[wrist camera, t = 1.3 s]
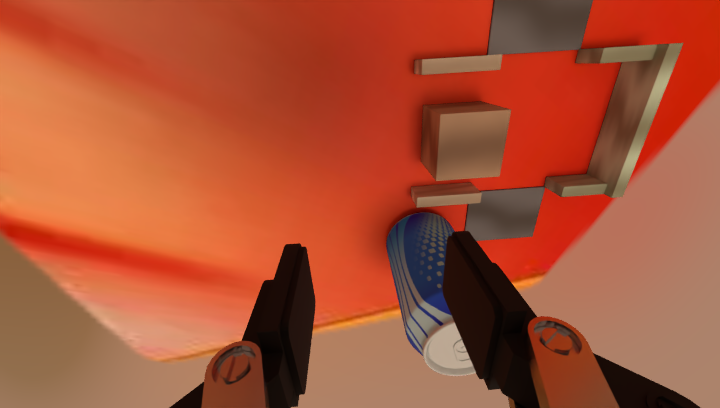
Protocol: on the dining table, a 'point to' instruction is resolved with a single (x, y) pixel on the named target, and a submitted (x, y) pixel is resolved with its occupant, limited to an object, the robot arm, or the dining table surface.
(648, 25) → the dining table surface
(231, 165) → the dining table surface
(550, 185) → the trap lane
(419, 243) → the beer can
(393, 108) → the dining table surface
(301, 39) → the dining table surface
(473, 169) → the walnut block
